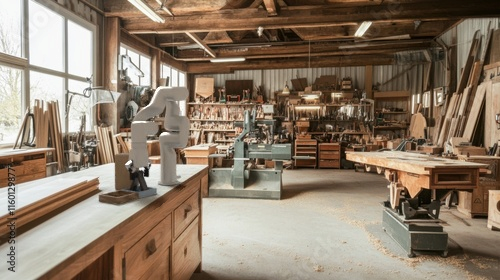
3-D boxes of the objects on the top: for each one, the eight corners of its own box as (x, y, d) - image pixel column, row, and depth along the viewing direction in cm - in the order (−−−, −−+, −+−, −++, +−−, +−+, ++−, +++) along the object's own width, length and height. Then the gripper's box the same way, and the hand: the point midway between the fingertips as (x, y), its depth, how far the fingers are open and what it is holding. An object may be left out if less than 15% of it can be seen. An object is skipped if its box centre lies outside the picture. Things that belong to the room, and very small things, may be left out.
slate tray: (139, 191, 173) (139, 185, 173) (156, 193, 167) (156, 187, 167) (120, 195, 162) (120, 189, 162) (138, 198, 156) (138, 192, 156)
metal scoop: (119, 192, 170) (119, 188, 170) (125, 193, 168) (125, 189, 168) (100, 197, 159) (100, 193, 159) (106, 198, 157) (106, 194, 157)
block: (139, 187, 182) (139, 153, 181) (131, 191, 172) (131, 154, 171) (123, 186, 183) (123, 152, 182) (114, 190, 173) (113, 154, 172)
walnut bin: (119, 195, 161) (119, 190, 161) (138, 198, 156) (137, 192, 156) (98, 201, 150) (98, 194, 150) (117, 204, 145) (117, 197, 144)
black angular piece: (149, 192, 167) (149, 169, 166) (145, 195, 161) (145, 171, 161) (132, 192, 167) (132, 169, 167) (127, 194, 161) (127, 171, 161)
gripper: (145, 144, 173) (146, 175, 174) (120, 146, 157) (121, 180, 159) (156, 144, 169) (156, 176, 171) (131, 147, 154) (132, 182, 155)
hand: (139, 178), depth 165 cm, fingers open, 9 cm apart
